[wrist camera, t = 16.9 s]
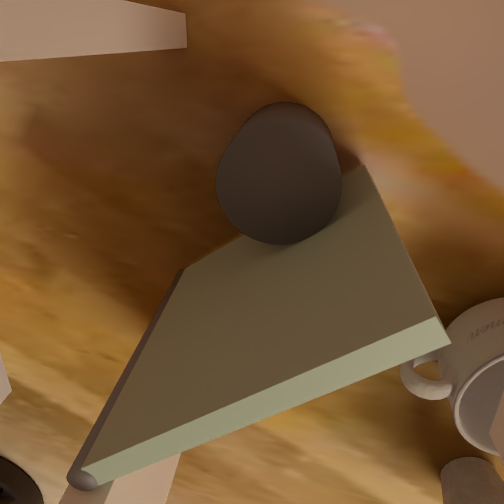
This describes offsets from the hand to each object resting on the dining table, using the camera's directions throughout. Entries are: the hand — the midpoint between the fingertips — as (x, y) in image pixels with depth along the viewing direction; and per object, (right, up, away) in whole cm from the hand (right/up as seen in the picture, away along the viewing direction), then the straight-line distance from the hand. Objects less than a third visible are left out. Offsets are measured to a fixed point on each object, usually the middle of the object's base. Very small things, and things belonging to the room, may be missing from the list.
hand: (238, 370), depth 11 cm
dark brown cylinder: (+3, +10, +20) cm, 23 cm away
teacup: (+19, -3, +25) cm, 32 cm away
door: (+1, +5, +22) cm, 23 cm away
